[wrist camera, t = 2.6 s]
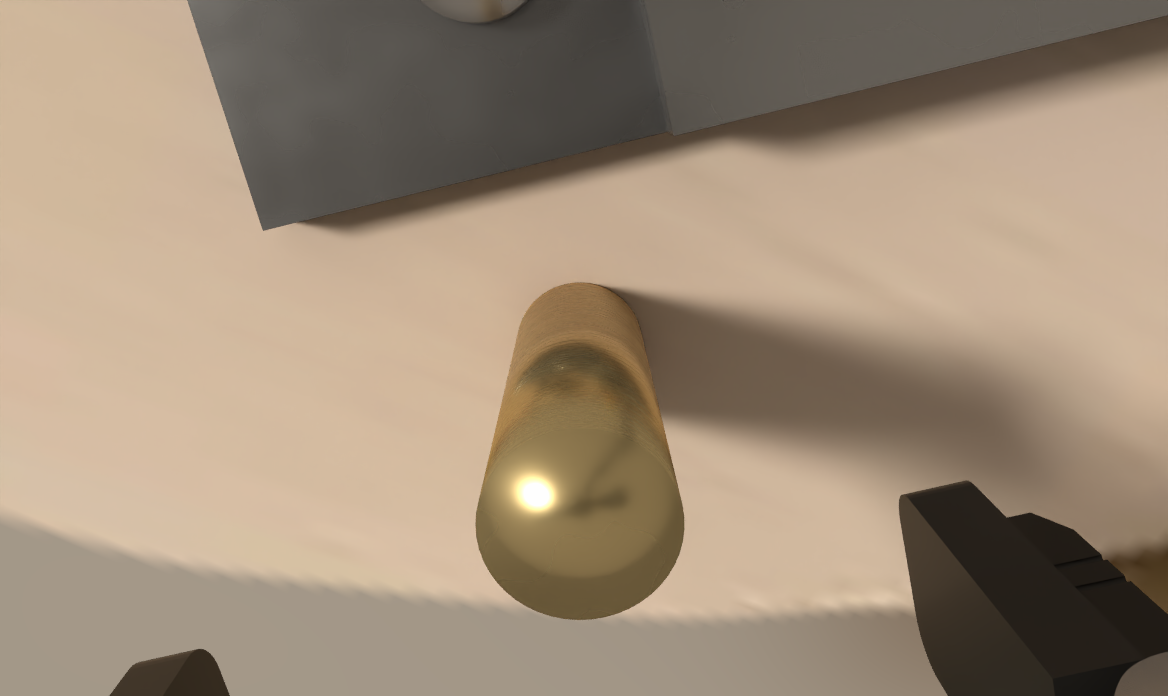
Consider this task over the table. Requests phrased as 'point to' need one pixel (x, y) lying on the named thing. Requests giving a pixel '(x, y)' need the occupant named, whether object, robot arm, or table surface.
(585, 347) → the brass pin
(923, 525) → the robot arm
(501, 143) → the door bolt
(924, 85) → the table surface
